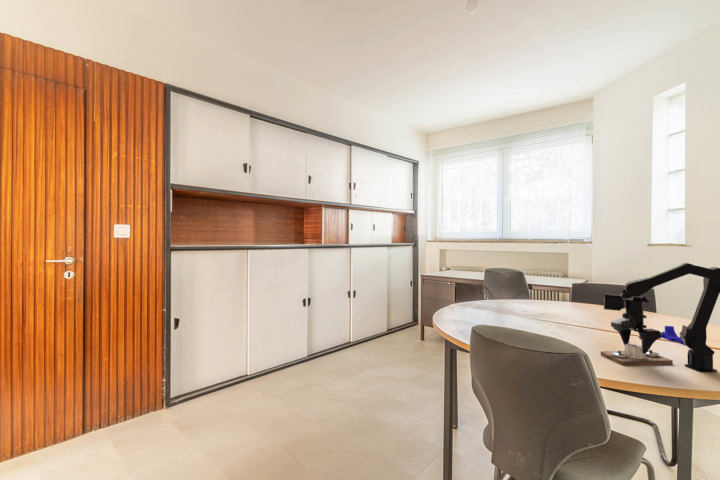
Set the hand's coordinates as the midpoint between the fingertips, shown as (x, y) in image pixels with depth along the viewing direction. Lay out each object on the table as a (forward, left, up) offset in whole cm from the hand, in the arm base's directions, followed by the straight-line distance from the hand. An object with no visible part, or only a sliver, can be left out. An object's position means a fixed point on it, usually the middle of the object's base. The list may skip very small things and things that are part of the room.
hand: (635, 349), depth 138 cm
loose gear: (0, 0, -2) cm, 3 cm away
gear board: (0, 0, -4) cm, 4 cm away
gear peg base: (0, 0, -3) cm, 3 cm away
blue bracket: (+22, -39, -4) cm, 45 cm away
